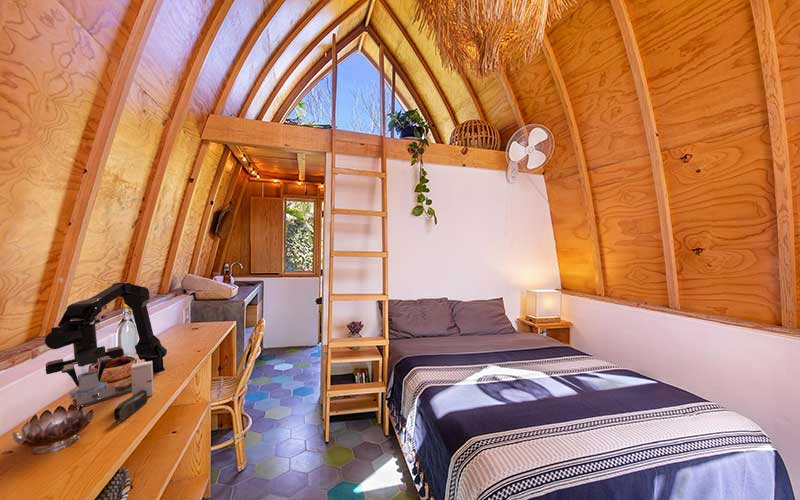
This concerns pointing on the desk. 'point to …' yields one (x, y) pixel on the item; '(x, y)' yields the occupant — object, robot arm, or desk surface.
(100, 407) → the desk surface
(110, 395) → the carrier plate
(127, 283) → the robot arm
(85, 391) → the grey stepped block
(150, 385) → the skincare box
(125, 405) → the mobile phone
